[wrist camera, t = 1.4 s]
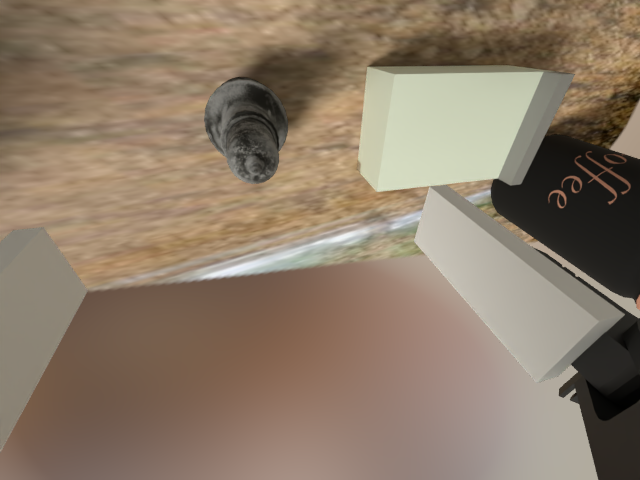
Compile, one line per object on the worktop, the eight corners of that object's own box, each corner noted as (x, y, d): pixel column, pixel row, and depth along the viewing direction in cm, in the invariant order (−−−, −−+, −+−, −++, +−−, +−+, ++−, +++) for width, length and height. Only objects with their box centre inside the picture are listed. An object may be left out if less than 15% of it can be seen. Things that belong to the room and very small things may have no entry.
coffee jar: (577, 117, 31) (850, 187, 18) (552, 194, 38) (735, 289, 24) (490, 151, 31) (697, 248, 17) (481, 223, 38) (625, 334, 24)
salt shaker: (219, 153, 24) (211, 231, 15) (197, 76, 21) (169, 115, 11) (285, 144, 25) (317, 212, 16) (276, 69, 22) (309, 100, 12)
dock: (357, 169, 28) (384, 200, 23) (367, 66, 23) (405, 77, 18) (474, 159, 31) (521, 184, 26) (507, 65, 26) (575, 74, 21)
